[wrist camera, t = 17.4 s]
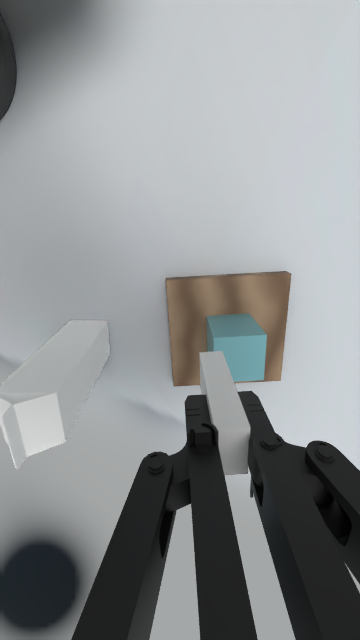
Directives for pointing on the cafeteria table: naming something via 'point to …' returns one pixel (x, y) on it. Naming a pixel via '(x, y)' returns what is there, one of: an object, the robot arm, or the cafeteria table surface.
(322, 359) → the cafeteria table surface
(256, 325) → the teal block
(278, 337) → the walnut stand
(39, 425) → the milk
